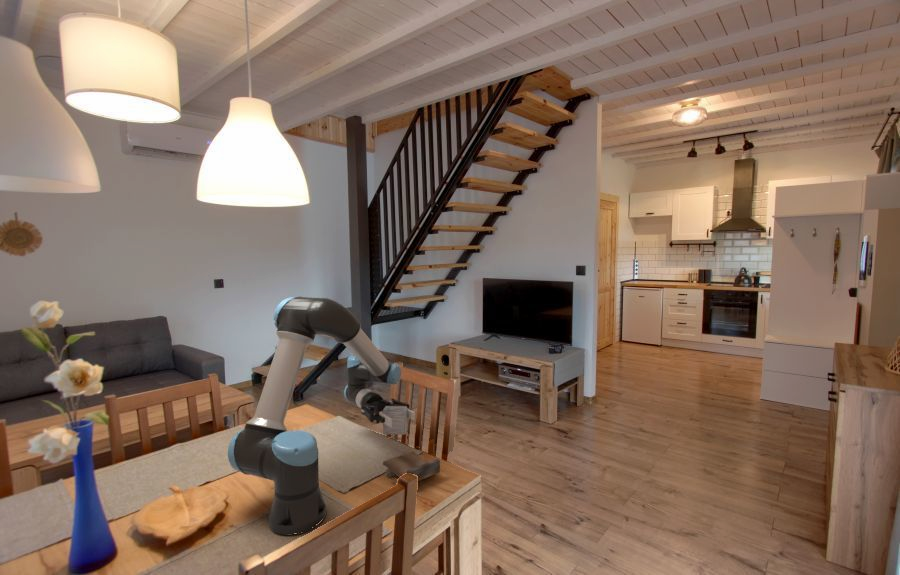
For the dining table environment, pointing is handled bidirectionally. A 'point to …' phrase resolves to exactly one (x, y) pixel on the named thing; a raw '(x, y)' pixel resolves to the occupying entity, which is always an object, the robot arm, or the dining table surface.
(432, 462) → the roller slab
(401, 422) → the medicine box
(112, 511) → the dining table surface
